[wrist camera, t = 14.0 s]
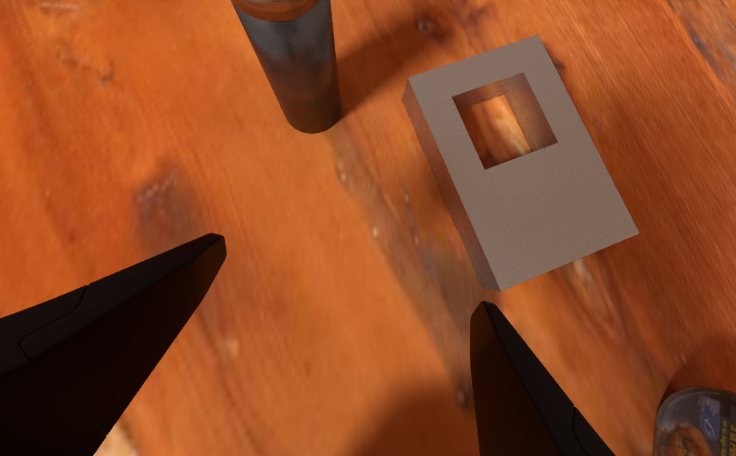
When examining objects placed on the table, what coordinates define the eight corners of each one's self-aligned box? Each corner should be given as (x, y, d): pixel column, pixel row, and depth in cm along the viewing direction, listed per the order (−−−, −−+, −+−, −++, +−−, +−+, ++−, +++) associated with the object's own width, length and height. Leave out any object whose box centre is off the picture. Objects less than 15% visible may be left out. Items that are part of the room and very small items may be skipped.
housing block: (482, 288, 23) (500, 291, 20) (401, 100, 26) (407, 78, 23) (605, 237, 24) (639, 233, 22) (517, 60, 27) (538, 34, 24)
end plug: (294, 142, 25) (225, 3, 12) (275, 90, 25) (190, -95, 12) (349, 123, 25) (342, -31, 12) (329, 72, 26) (302, -124, 13)
